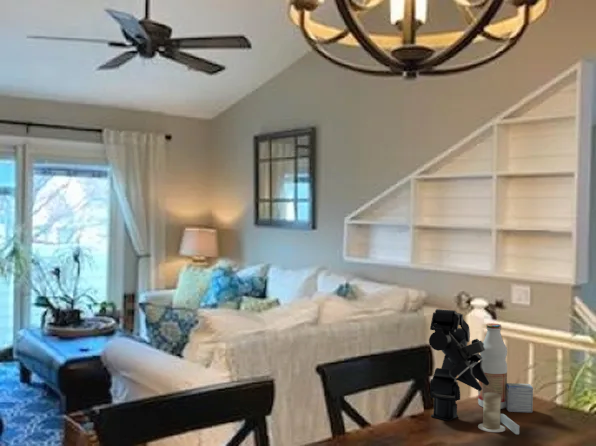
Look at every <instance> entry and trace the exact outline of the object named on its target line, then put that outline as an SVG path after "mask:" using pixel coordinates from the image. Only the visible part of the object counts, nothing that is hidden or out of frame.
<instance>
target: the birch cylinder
mask: <svg viewBox="0 0 596 446" xmlns="http://www.w3.org/2000/svg"><path fill="white" fill-rule="evenodd" d="M500 405H501V395H500V394H498V393H492V392H487V393H484V405H483V407H482V408H483V412H482V413H483V415H482V419H483V420H482V423H483V427H484V428H486V429H491V430H497V429H500V425H501V422H500V417H501V409H500Z"/></svg>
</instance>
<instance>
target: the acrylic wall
mask: <svg viewBox="0 0 596 446" xmlns="http://www.w3.org/2000/svg"><path fill="white" fill-rule="evenodd" d="M500 424H502V425H503V426H504V427H505V428H507V429H509V430H510V431H511V432H512V433H513V434H515V435H520V425H519V424H517V422H515V421H513V420H512V419H511V418H510V417H509V416H507V415H506V414H504V413H500Z"/></svg>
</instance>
